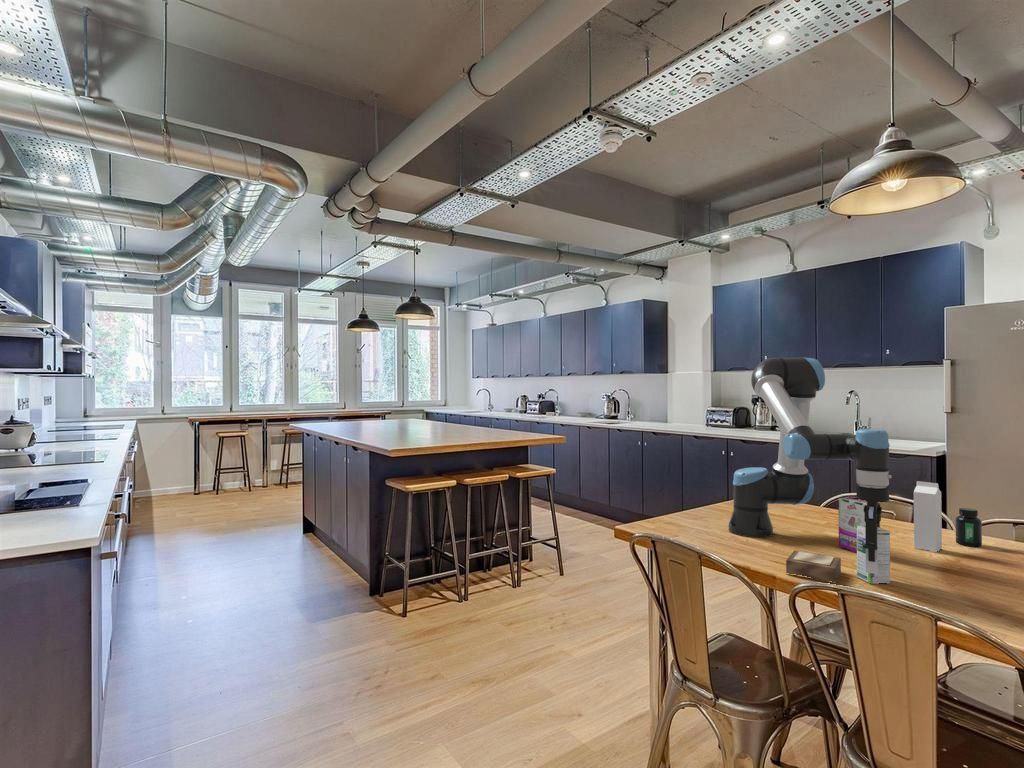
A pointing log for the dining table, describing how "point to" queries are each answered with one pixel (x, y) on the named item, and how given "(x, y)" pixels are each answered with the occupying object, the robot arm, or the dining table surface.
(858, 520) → the candy bar box
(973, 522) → the supplement bottle
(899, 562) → the dining table surface
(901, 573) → the dining table surface
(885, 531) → the syrup box
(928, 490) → the milk
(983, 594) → the dining table surface
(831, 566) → the plinth
